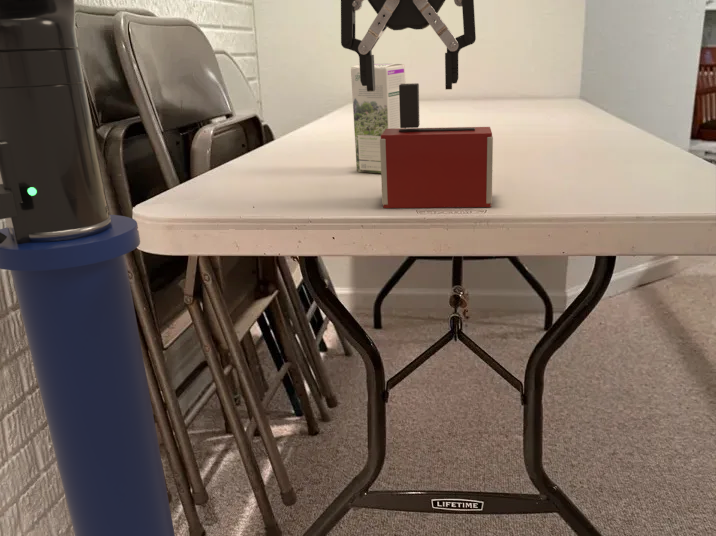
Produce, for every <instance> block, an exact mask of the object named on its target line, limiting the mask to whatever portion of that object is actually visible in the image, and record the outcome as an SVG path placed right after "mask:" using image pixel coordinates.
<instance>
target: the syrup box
mask: <svg viewBox="0 0 716 536" xmlns="http://www.w3.org/2000/svg"><path fill="white" fill-rule="evenodd" d="M374 70H375V91H369V92H367V86H362V84H361V81H360V64H356V65H353V66H350V74H351V75H350V77H351V78H350V79H351V94H352V95H351V97H352V111H353V112H352V113H353V129H354V146H355V147H354V148H355V163H356V172H358V173H359V172H360V173H371V174H373V173H374V174H381V156H380V139H381V134H382V133H383V132H384V131H385V130H386V129H396V128H400V100H399V85H400V84H406V67H405V64H404V63H374Z"/></svg>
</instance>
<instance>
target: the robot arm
mask: <svg viewBox="0 0 716 536" xmlns="http://www.w3.org/2000/svg"><path fill="white" fill-rule="evenodd" d="M364 2H365V0H340V45H341V46H342V47H343V49H345V50H349V51H353V52H355V53H356V54H357V55H358V60H359V63H358V64H359V65H360V81H361V84H362V86H367V92H369V91H375V70H374V64H375V55H374V54H373V52H372V51H373V49H374V48H375V46H376V44H377V43H378V42H379V40H380V39H381V38H382V36H383V35H384V33H385V31H386V30H387V28H388V29H390V30H392V31H403V30H406V29H412V30H418V31H419V30H424V29H426V28H428V27H429V26H430V27H431V28H432V29H433V31H434V32H435V34H436V35H437V36H438V37H439V39H440V40H441V42H442V43H443V44H444V46H445V47H446V52H444V74H445V75H444V76H445V78H444V80H445V81H444V82H445V84H444V85H445V90H453V84H457V83H458V81H459V54H460V51H461V50H462V49H464V48H467V47H468V46H471V45H473V44H474V43H475V42H476V40H477V37H476V18H475V17H476V15H475V0H453V2H454V5H455V6H456V7H459V8H461V7H462V8H461V11H462V25H463V34H462V35H459V36H456V37H455V36H454V34H453V33H452V32H451V31H450V29H449V27H447V24H446V23H445V22H444V20H442V18H441V16H440V15H439V11H440V10H441V8H442V7H443V6H444V4H445V2H446V0H367V2H368V3H369V5H370V6H371V7H372V9H373V11H374V12H375V13H376V17H375V18H374V19H373V21H372V23H371V24H370V26H369V28H368V29H367V32H366V33H365V35H364V36H363V38H362V40H361V39H358V38H356V12H359V11H360V10H361V9H362V7H363V3H364ZM76 30H77V29H76V3H75V0H0V220H4V219H5V223H6V227H7V228H8V232H9V234H10V235H11V238H12V239H14V240H15V242H16V243H17V244H24V243H32V242H56V241H64V240H71V239H78V238H82V237H87V236H91V235H95V234H98V233H101V232H103V231H105V230H107V229H109V228H110V227H111V226H112V223H111V217H110V215H111V214H110V212H109V210H110V209H109V205H108V202H107V196H106V191H105V186H104V179H103V175H102V169H101V164H100V159H99V154H98V153H99V152H98V148H97V143H96V137H95V132H94V126H93V121H92V116H91V110H90V106H89V105H90V104H89V100H88V93H87V89H86V88H87V87H86V83H85V77H84V72H83V66H82V61H81V54H80V49H78V48H79V44H78V39H77V38H78V37H77V31H76ZM6 238H7V236H5V235H4V234H2V233H1V232H0V244H1V243H2V242H3V241H4V240H5V239H6Z"/></svg>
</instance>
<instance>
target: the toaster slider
mask: <svg viewBox="0 0 716 536" xmlns="http://www.w3.org/2000/svg"><path fill="white" fill-rule="evenodd" d="M399 100H400V128H420V84H419V83H416V82H415V83H405V84H400V85H399Z"/></svg>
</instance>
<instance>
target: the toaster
mask: <svg viewBox="0 0 716 536" xmlns="http://www.w3.org/2000/svg"><path fill="white" fill-rule="evenodd" d="M493 151H494V136H493V132H492V129H491V126H457V127H455V126H453V127H418V128H396V129H386V130H385V131H384V132H383V133H382V134H381V139H380V156H381V173H380V178H381V179H380V181H381V182H380V183H381V204H382V205H383V207H382V208H383V209H417V208H418V209H428V208H429V209H433V208H491V207H492V204H493V161H494V159H493V158H494V157H493V153H494V152H493Z"/></svg>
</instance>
